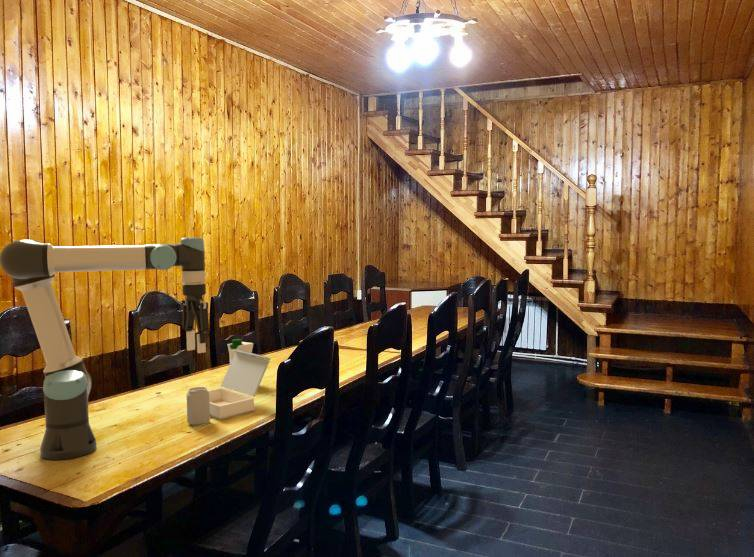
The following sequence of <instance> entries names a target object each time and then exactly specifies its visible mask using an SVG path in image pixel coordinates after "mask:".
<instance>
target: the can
mask: <svg viewBox="0 0 754 557" xmlns="http://www.w3.org/2000/svg"><path fill="white" fill-rule="evenodd" d="M187 390H188V392H187V393H186V412H187V413H186V418H187V423H188V424H189V425H190V426H194V427H195V426H196V427H197V426H198V427H199V426H203V425H207V424H209V422H210V420H211V417H210V405H209V392H208V391H209V390H208V388H207V387H205V386H195V387H191V388H189V389H187Z"/></svg>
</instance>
